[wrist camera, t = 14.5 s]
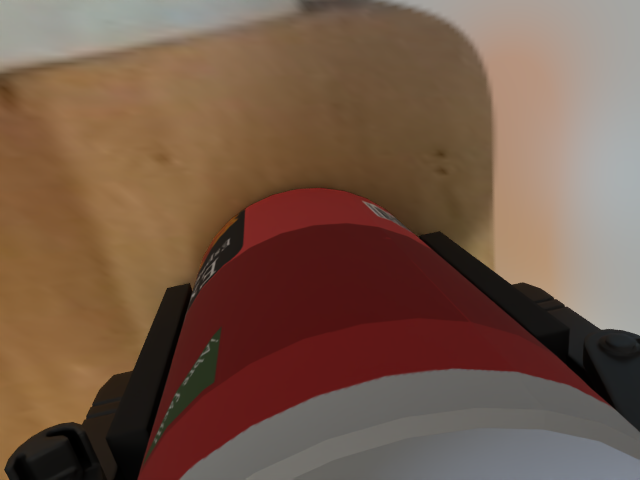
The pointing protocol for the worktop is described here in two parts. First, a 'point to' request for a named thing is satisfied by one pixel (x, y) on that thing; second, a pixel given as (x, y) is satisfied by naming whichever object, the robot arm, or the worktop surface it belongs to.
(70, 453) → the robot arm
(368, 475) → the canned food
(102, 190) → the worktop surface
